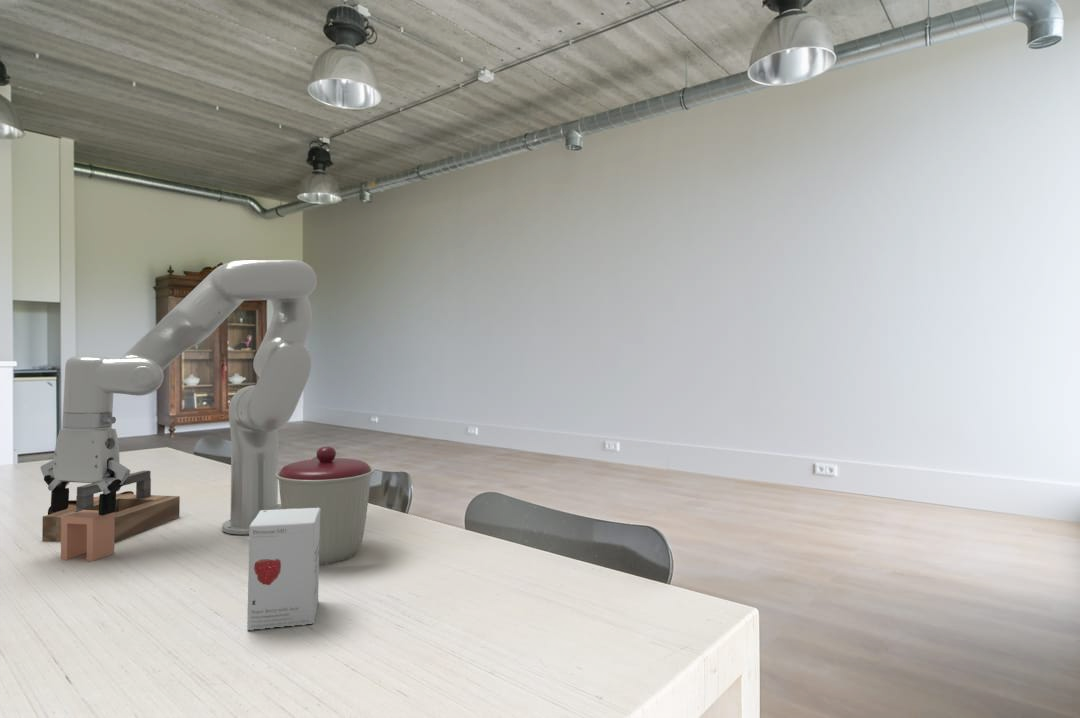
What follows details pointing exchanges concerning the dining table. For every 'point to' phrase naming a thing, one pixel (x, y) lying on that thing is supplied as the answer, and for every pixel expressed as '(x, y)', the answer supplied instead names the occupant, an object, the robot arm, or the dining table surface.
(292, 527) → the supplement box
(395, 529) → the dining table surface
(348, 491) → the canister
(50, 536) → the wooden rectangular frame
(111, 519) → the pink u-channel block
